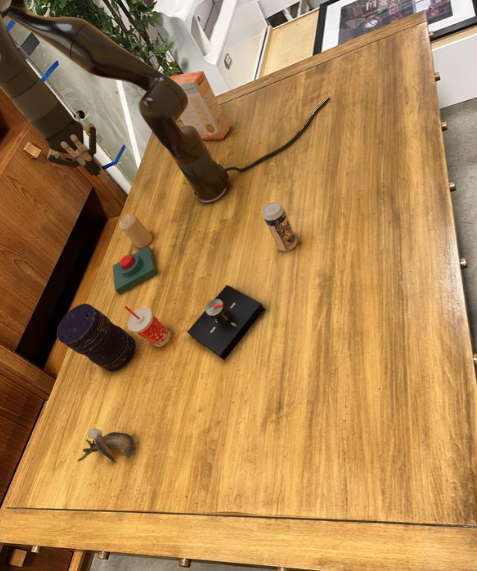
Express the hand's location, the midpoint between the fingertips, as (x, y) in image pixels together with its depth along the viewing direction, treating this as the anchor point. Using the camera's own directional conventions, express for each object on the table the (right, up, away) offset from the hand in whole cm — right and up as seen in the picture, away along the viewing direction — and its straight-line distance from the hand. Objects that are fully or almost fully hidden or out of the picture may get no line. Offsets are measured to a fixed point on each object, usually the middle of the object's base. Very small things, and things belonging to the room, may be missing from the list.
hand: (97, 173), depth 91 cm
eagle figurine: (+8, -60, -13) cm, 62 cm away
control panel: (+31, -35, -6) cm, 47 cm away
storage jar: (+4, -43, +2) cm, 43 cm away
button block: (+5, -23, +17) cm, 29 cm away
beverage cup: (+15, -39, 0) cm, 42 cm away
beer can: (+45, -17, +1) cm, 48 cm away
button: (+3, -20, +15) cm, 25 cm away
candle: (+5, -13, +24) cm, 28 cm away
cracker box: (+24, +26, +44) cm, 57 cm away
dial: (+30, -33, -8) cm, 45 cm away
